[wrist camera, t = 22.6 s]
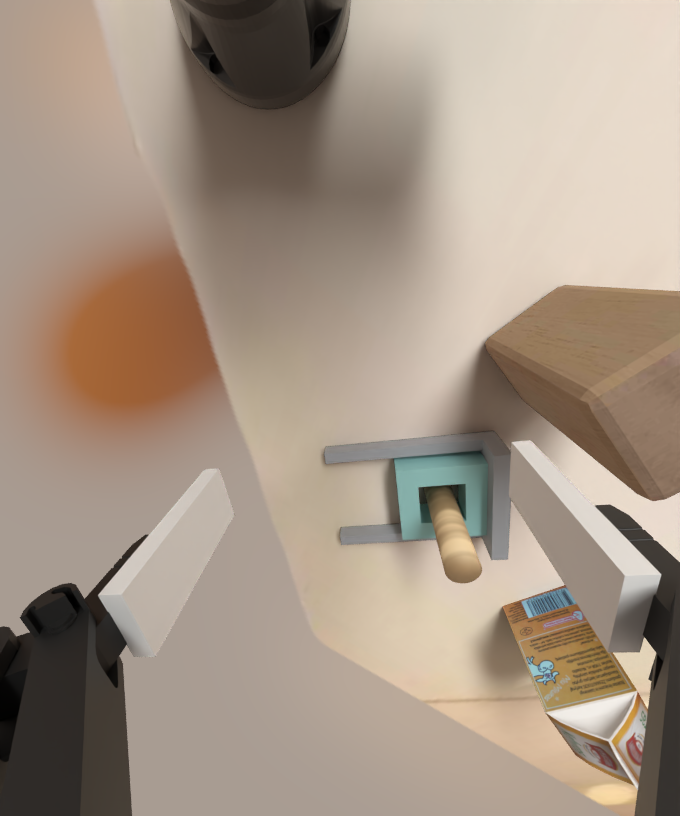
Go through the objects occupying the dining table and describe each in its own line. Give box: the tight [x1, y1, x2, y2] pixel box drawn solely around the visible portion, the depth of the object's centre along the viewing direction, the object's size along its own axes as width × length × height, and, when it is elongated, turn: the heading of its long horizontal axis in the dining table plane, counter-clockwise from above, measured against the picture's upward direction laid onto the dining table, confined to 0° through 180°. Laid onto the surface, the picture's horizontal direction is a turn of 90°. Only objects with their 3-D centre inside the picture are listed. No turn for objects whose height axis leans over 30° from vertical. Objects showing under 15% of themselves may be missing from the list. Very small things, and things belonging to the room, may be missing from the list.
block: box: [485, 285, 680, 501], centre depth 28 cm, size 10×10×20 cm
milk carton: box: [503, 585, 648, 790], centre depth 45 cm, size 11×11×19 cm
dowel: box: [424, 485, 482, 583], centre depth 39 cm, size 4×4×14 cm
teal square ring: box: [394, 450, 488, 540], centre depth 44 cm, size 11×11×4 cm
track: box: [324, 431, 511, 560], centre depth 43 cm, size 16×22×6 cm
